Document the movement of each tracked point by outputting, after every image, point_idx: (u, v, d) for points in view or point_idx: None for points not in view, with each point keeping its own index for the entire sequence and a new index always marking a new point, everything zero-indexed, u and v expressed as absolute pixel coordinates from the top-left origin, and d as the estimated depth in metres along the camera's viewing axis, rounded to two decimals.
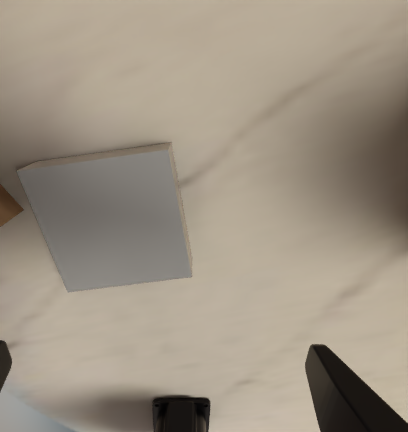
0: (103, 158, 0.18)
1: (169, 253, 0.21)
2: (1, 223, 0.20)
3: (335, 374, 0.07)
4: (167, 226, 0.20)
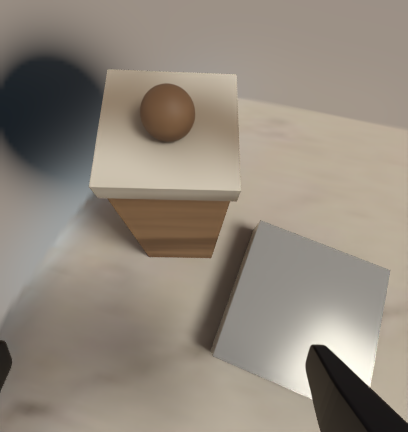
0: (332, 249, 0.21)
1: None
2: (213, 249, 0.21)
3: (335, 374, 0.07)
4: (361, 338, 0.19)
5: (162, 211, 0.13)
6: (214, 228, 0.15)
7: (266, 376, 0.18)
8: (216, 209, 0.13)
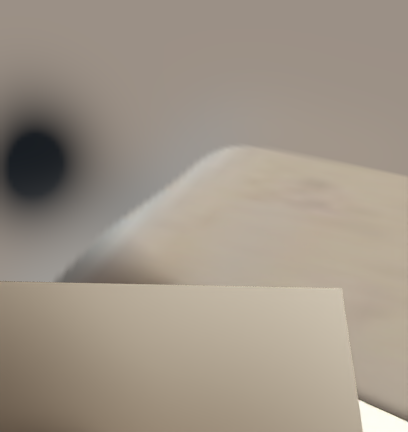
0: None
1: None
2: None
3: None
4: None
5: None
6: None
7: None
8: None
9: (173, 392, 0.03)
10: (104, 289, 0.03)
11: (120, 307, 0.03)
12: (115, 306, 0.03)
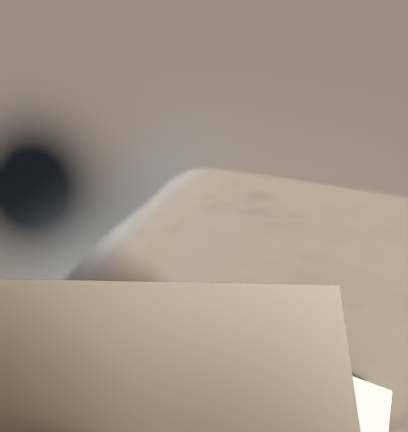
0: None
1: None
2: None
3: None
4: None
5: None
6: None
7: None
8: None
9: (171, 389, 0.03)
10: (102, 286, 0.03)
11: (118, 304, 0.03)
12: (113, 303, 0.03)
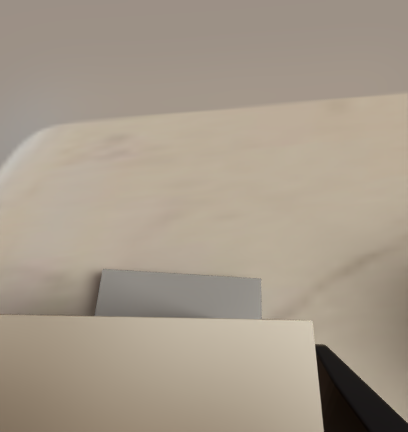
0: (194, 275, 0.18)
1: None
2: None
3: (335, 374, 0.07)
4: None
5: None
6: None
7: None
8: None
9: (177, 404, 0.04)
10: (122, 322, 0.04)
11: (135, 336, 0.04)
12: (131, 336, 0.04)
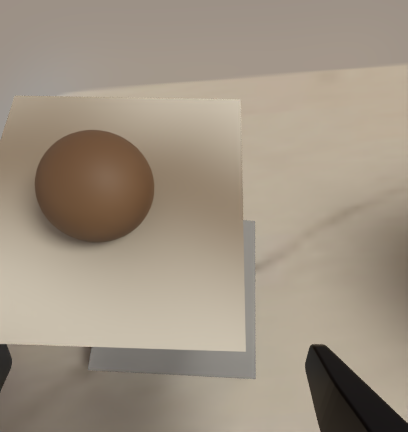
0: None
1: None
2: None
3: (335, 374, 0.07)
4: None
5: None
6: None
7: (148, 370, 0.17)
8: None
9: (152, 137, 0.06)
10: (120, 99, 0.07)
11: (128, 106, 0.07)
12: (125, 106, 0.07)
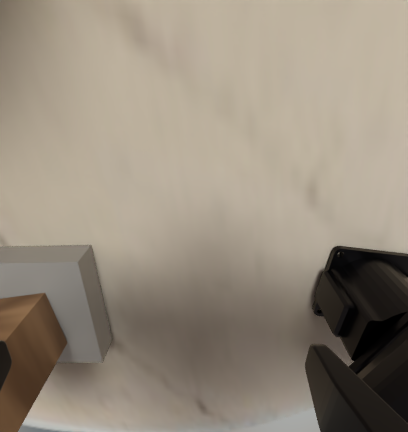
0: None
1: (49, 277, 0.21)
2: (22, 317, 0.19)
3: (335, 374, 0.07)
4: (18, 275, 0.21)
5: None
6: None
7: (92, 330, 0.23)
8: None
9: None
10: None
11: None
12: None
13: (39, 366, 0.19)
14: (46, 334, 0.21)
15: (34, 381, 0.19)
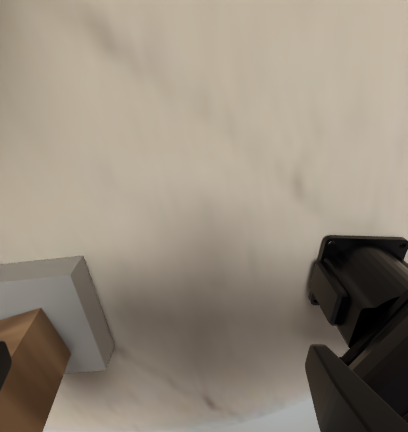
0: None
1: (43, 292, 0.21)
2: (23, 334, 0.19)
3: (335, 374, 0.07)
4: (12, 293, 0.21)
5: None
6: None
7: (92, 340, 0.23)
8: None
9: None
10: None
11: None
12: None
13: (47, 379, 0.20)
14: (49, 348, 0.21)
15: (45, 394, 0.19)
